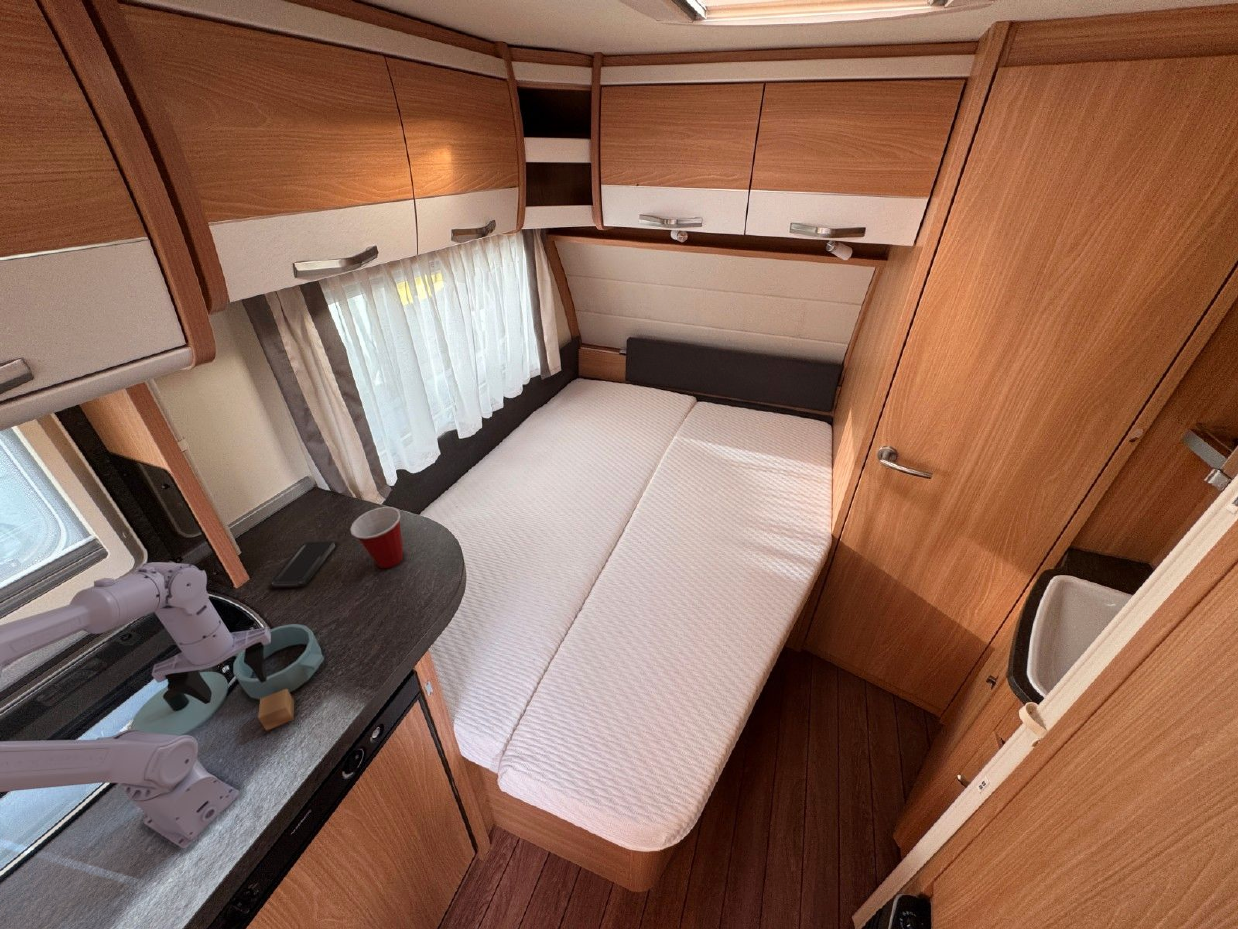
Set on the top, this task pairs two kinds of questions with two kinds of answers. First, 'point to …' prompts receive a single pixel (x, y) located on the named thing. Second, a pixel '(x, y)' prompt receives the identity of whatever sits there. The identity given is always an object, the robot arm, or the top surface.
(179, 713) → the lid
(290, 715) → the block
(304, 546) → the phone
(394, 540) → the plastic cup
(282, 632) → the pot
